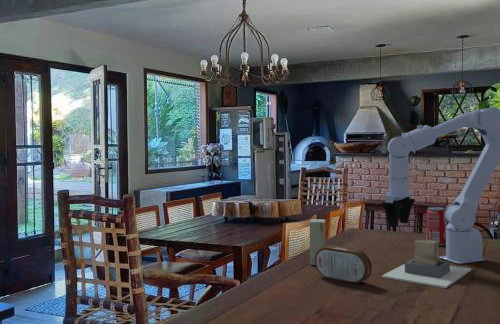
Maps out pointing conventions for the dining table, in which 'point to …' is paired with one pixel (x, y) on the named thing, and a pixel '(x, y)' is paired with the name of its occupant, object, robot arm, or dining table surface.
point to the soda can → (436, 225)
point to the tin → (343, 264)
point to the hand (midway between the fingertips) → (398, 224)
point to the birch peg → (426, 252)
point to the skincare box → (317, 237)
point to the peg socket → (428, 274)
